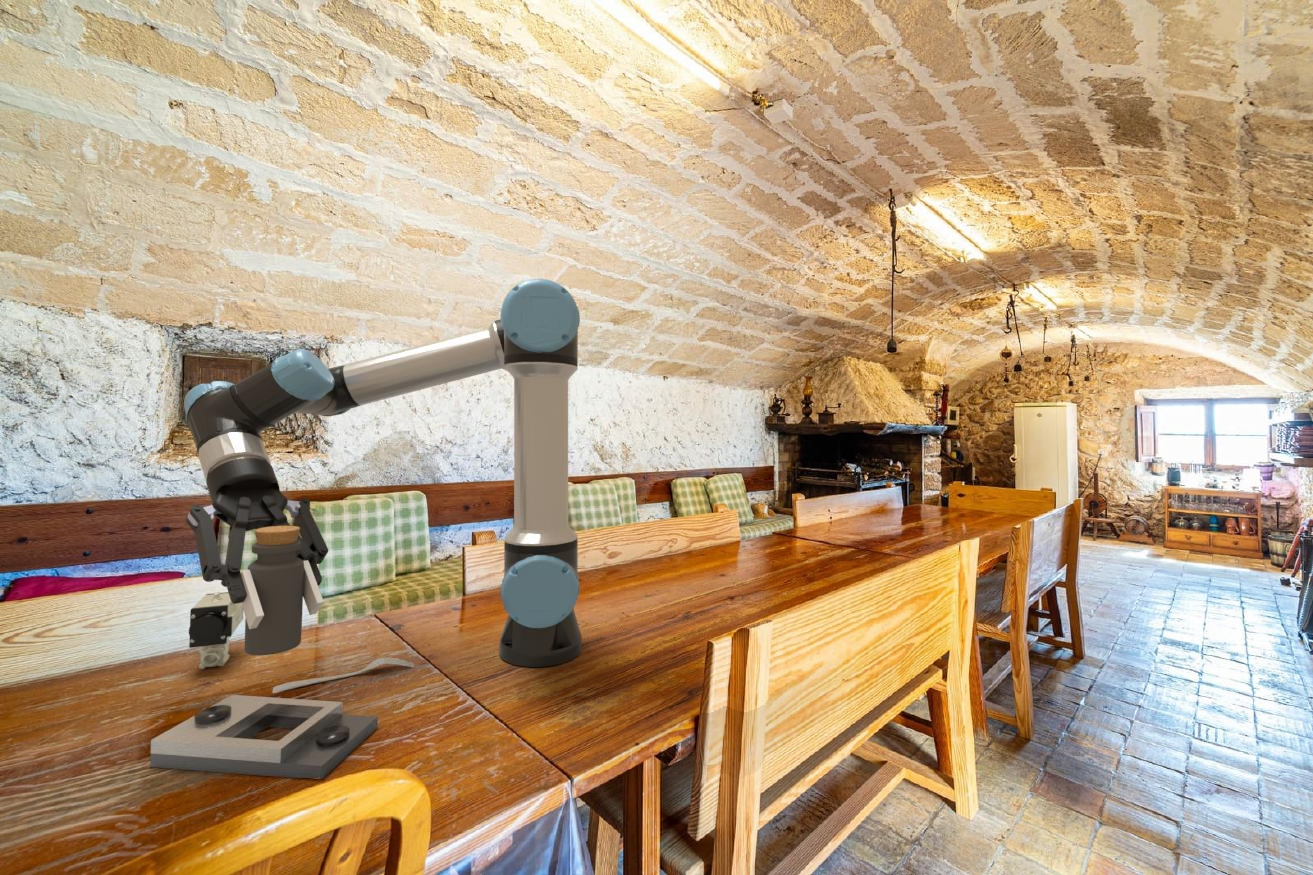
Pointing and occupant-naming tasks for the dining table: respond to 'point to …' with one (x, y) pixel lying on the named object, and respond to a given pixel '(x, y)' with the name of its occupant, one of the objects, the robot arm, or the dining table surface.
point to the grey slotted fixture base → (226, 745)
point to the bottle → (276, 591)
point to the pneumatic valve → (214, 627)
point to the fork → (312, 681)
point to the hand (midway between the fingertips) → (287, 614)
